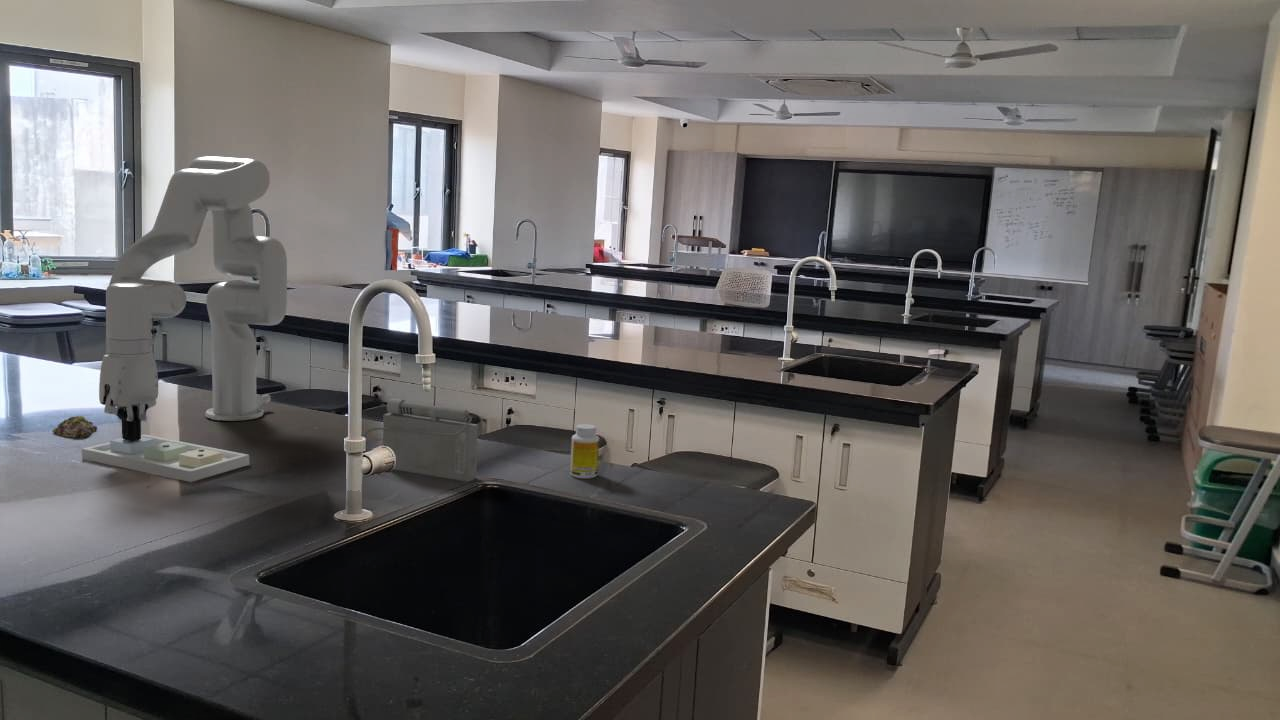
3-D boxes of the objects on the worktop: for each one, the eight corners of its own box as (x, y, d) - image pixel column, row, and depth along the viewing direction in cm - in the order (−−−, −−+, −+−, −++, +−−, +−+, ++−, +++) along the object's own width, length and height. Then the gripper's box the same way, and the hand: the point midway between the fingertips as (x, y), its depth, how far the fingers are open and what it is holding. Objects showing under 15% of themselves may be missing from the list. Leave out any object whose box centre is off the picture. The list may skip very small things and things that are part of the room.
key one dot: (167, 451, 187) (167, 440, 187) (187, 455, 185) (187, 444, 185) (144, 457, 182) (143, 446, 182) (164, 461, 180) (164, 450, 180)
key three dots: (134, 444, 191) (134, 434, 190) (154, 448, 189) (153, 438, 188) (110, 450, 186) (110, 439, 185) (130, 454, 184) (130, 443, 183)
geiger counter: (482, 407, 184) (372, 392, 192) (466, 413, 178) (353, 397, 186) (480, 477, 186) (371, 459, 194) (463, 485, 180) (352, 466, 188)
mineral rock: (46, 420, 202) (87, 407, 207) (53, 438, 204) (94, 425, 208) (54, 432, 194) (97, 418, 198) (62, 451, 195) (104, 437, 200)
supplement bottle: (601, 479, 190) (603, 429, 188) (574, 480, 188) (576, 429, 186) (592, 471, 195) (595, 422, 193) (566, 472, 193) (568, 423, 191)
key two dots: (201, 458, 184) (201, 447, 184) (222, 462, 182) (222, 451, 182) (178, 464, 179) (178, 453, 179) (200, 468, 177) (200, 457, 177)
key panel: (144, 443, 196) (144, 434, 195) (249, 464, 185) (249, 454, 185) (82, 458, 183) (81, 448, 182) (190, 482, 172) (190, 471, 172)
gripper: (148, 341, 192) (150, 429, 195) (80, 349, 178) (83, 444, 181) (175, 345, 189) (177, 434, 192) (108, 353, 176) (111, 449, 178)
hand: (131, 439), depth 187 cm, fingers closed
